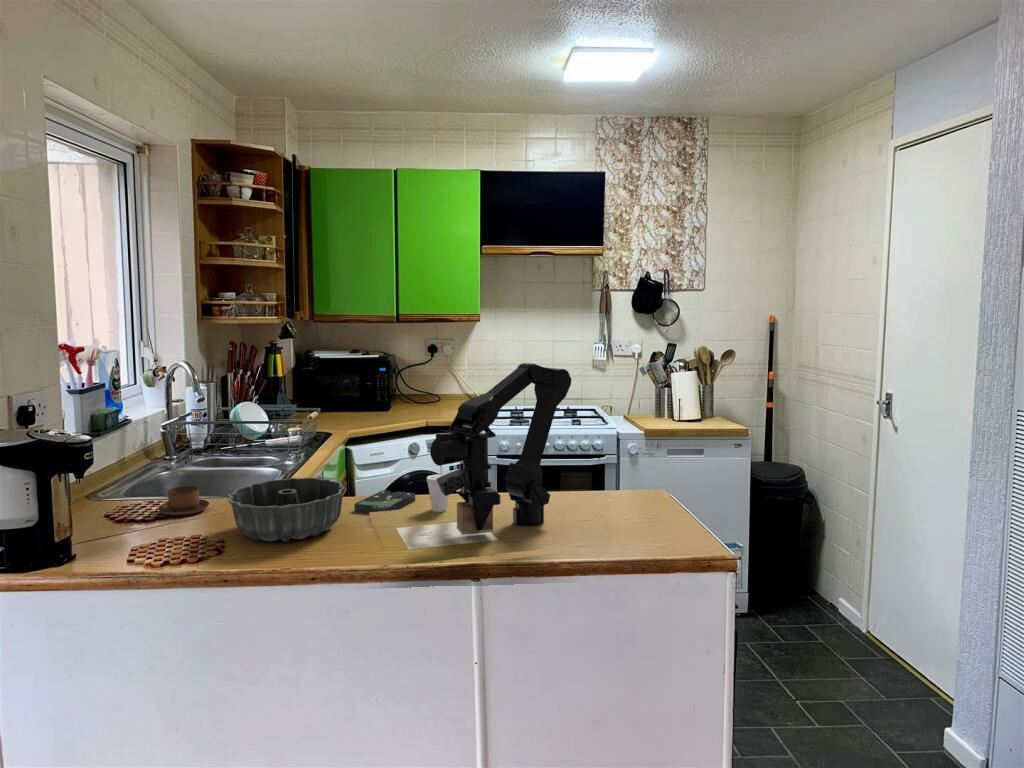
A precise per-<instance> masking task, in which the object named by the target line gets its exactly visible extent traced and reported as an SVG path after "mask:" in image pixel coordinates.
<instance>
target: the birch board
mask: <svg viewBox="0 0 1024 768" xmlns="http://www.w3.org/2000/svg"><path fill="white" fill-rule="evenodd" d="M396 530H397V532H398V533H399V536H400V538H401V539H402V541H403V543H404V545H405V546H406V548H407V550H408V551H409V550H415V549H425V548H436V547H445V546H455V545H462V544H463V545H465V544H474V543H481V542H492V541H498V538H497V537H496V536H495V535H494V534H493V532H488V533H477V534H467V535H462V534H461V533H460V532H459V530H458V529H457V521H455V522H454V521H452V522H445V523H443V522H442V523H435V524H426V525H425V524H424V525H423V524H422V525H415V526H414V525H413V526H405V527H404V526H402V527H396Z"/></svg>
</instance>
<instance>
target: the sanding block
mask: <svg viewBox="0 0 1024 768" xmlns="http://www.w3.org/2000/svg"><path fill="white" fill-rule="evenodd" d="M456 522H457V529H458V530H459V532H460V533H461V534H462V535H467V534H477V533H488V532H491V533H493V532H494V507H493V508H492V510H491V512H490V513H489V516H488V518H487V520H486V522H485V524H484V527H483V529H482V530H480V531H477V528H476V523H475V517H474V512H473V508H472V507H471V506H470V505H469V504H468V503H467V502H465V501H458V502H456Z"/></svg>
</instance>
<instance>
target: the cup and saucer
mask: <svg viewBox="0 0 1024 768" xmlns="http://www.w3.org/2000/svg"><path fill="white" fill-rule="evenodd" d="M167 500H168V502H167V503H164V504H162V505H160V506H159V507H158V511H159V512H160V513H162V514H163V515H165V516H171V517H172V516H173V517H175V516H176V517H180V516H188V515H189V516H190V515H194V514H198V513H200V512H203V511H204V510H206V509H207V508H208V507H209V506H210V502H209V501H208V500H205V499H200V488H199V487H198V486H195V485H185V486H177V487H172V488H170V489H168V490H167Z"/></svg>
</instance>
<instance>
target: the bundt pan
mask: <svg viewBox="0 0 1024 768" xmlns="http://www.w3.org/2000/svg"><path fill="white" fill-rule="evenodd" d="M344 491H346V487H345V486H343V484H342V483H341V482H339V481H335V480H331V479H330V478H328V479H327V478H326V479H325V478H319V477H299V478H298V477H291V478H283V479H280V478H278V479H271V480H265V481H262V482H257V483H250V484H248V485H246V486H242V487H239V488H236V489H235V490H233V493H229V494H227V499H228V500H227V501H228V503H229V504H230V505H231V508H232V513H233V517H234V521H235V525H236V527H237V530H239V532H240V533H242V534H243V535H244V536H247V537H249V538H250V539H251V540H253V541H256V542H257V541H258V542H259V541H260V542H261V541H266V542H268V543H270V542H271V543H272V542H276V541H279V540H281V541H282V542H284V543H287V542H288V541H289V540H291V539H293V540H304V539H307V537H317V536H319V535H321V533H323V532H326V531H328V530H329V529H331V528H332V527H333V525H334V524H335V523H336V522H337V521H338V520H339V518H340V516H341V514H342V513H341V511H342V505H343V496H344Z"/></svg>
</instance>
